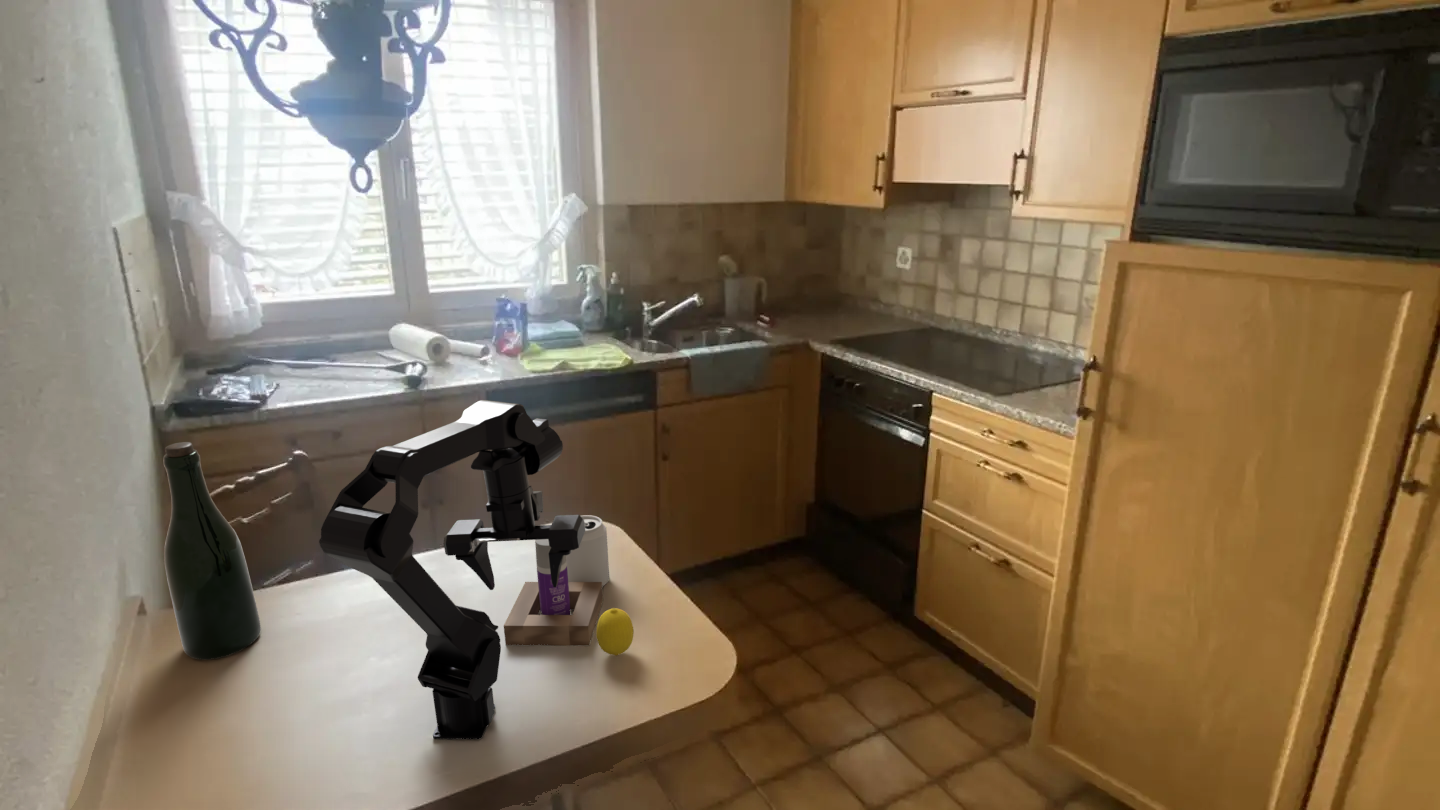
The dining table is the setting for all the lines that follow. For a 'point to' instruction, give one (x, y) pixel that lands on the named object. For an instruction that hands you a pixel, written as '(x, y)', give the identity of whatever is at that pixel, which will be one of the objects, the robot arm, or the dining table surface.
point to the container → (551, 597)
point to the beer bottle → (205, 565)
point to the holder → (554, 617)
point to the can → (590, 554)
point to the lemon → (614, 631)
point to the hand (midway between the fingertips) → (524, 587)
